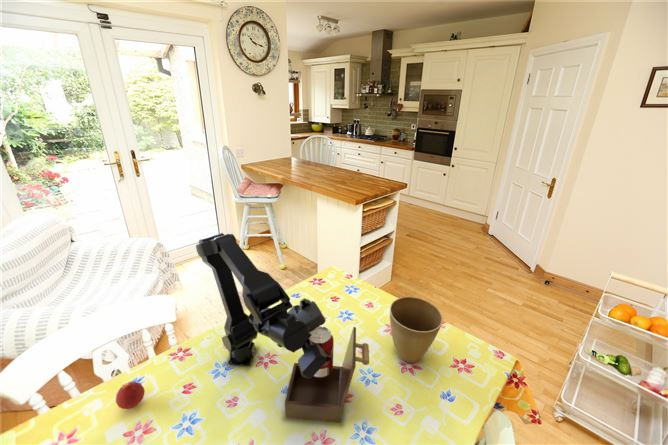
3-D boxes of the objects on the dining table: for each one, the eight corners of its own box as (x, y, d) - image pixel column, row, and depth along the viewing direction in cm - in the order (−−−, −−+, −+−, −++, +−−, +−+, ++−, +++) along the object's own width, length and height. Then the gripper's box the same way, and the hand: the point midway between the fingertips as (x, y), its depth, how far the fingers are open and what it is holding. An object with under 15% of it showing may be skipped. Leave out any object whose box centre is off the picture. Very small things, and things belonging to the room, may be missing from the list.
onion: (142, 390, 78) (134, 368, 74) (151, 403, 74) (143, 382, 71) (117, 406, 74) (107, 384, 70) (125, 421, 70) (115, 399, 67)
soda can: (329, 382, 73) (330, 347, 68) (304, 377, 74) (303, 342, 69) (335, 360, 79) (336, 326, 74) (311, 356, 80) (310, 322, 75)
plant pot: (414, 383, 81) (422, 340, 74) (375, 349, 91) (379, 309, 85) (443, 355, 89) (453, 315, 83) (404, 328, 100) (410, 290, 93)
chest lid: (352, 366, 63) (371, 370, 63) (353, 326, 73) (369, 330, 73) (339, 407, 68) (357, 410, 68) (342, 365, 79) (357, 368, 79)
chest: (285, 417, 72) (284, 403, 70) (295, 376, 82) (294, 362, 80) (340, 422, 71) (341, 408, 69) (342, 379, 81) (343, 366, 79)
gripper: (317, 329, 58) (363, 353, 66) (292, 279, 74) (331, 303, 82) (281, 370, 58) (331, 388, 67) (263, 311, 74) (305, 332, 82)
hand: (325, 348), depth 74 cm, fingers closed on soda can, 7 cm apart
